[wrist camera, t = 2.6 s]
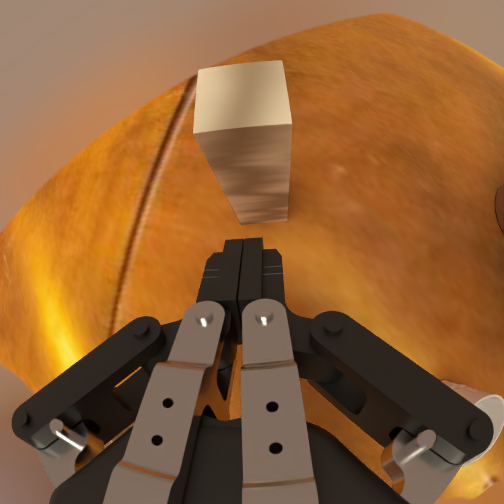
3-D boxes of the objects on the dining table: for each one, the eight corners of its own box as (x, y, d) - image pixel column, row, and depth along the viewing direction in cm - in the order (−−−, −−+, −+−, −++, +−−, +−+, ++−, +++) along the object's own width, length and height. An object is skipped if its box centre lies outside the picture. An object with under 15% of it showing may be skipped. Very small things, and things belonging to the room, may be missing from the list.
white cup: (416, 443, 24) (451, 480, 15) (401, 398, 26) (441, 430, 16) (464, 409, 24) (508, 432, 14) (452, 362, 26) (502, 378, 16)
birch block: (283, 178, 32) (282, 60, 14) (287, 221, 31) (292, 123, 13) (239, 182, 32) (198, 69, 14) (241, 224, 31) (193, 133, 14)
